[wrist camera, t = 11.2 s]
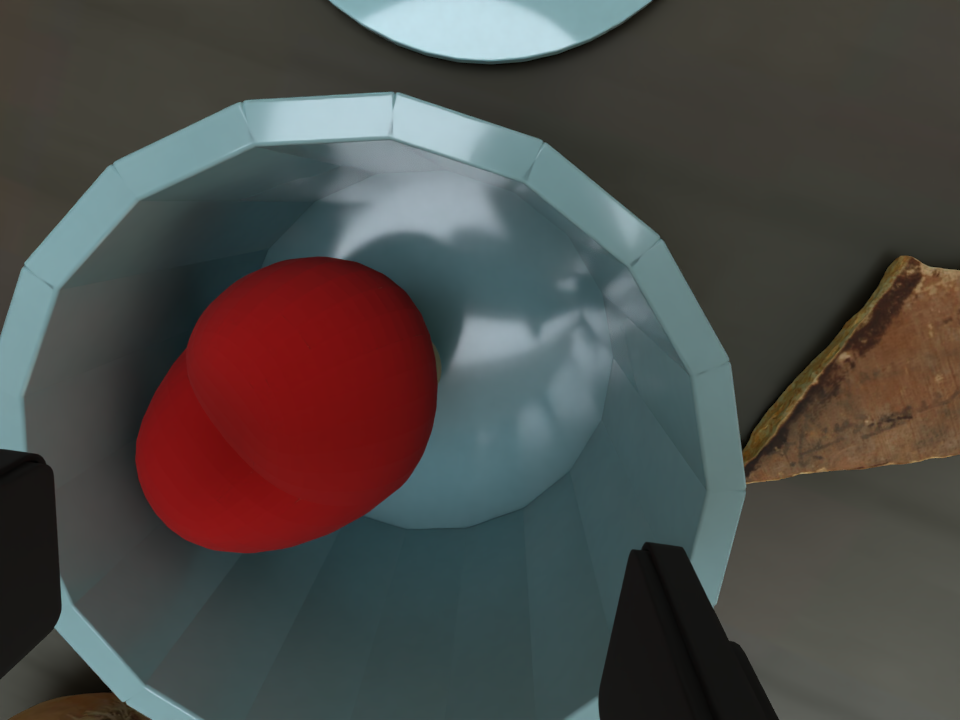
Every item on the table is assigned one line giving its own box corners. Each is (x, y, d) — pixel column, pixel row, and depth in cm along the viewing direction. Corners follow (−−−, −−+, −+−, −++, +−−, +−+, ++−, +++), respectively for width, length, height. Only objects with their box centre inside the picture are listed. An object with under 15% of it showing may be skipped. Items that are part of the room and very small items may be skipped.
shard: (717, 471, 24) (733, 491, 23) (701, 283, 23) (718, 290, 21) (1001, 432, 24) (1041, 450, 22) (1010, 233, 22) (1054, 236, 20)
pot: (667, 177, 22) (839, 151, 11) (589, 564, 26) (654, 840, 15) (234, 118, 22) (-48, 31, 11) (224, 514, 26) (12, 751, 15)
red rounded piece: (411, 501, 24) (201, 658, 15) (303, 372, 25) (49, 448, 16) (570, 345, 20) (407, 435, 11) (432, 199, 21) (186, 177, 12)
